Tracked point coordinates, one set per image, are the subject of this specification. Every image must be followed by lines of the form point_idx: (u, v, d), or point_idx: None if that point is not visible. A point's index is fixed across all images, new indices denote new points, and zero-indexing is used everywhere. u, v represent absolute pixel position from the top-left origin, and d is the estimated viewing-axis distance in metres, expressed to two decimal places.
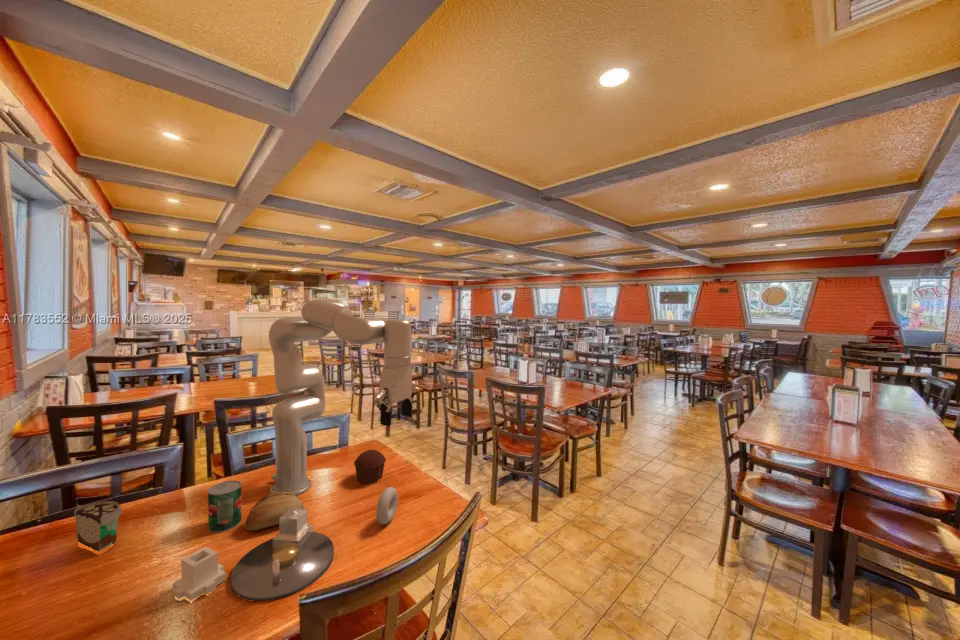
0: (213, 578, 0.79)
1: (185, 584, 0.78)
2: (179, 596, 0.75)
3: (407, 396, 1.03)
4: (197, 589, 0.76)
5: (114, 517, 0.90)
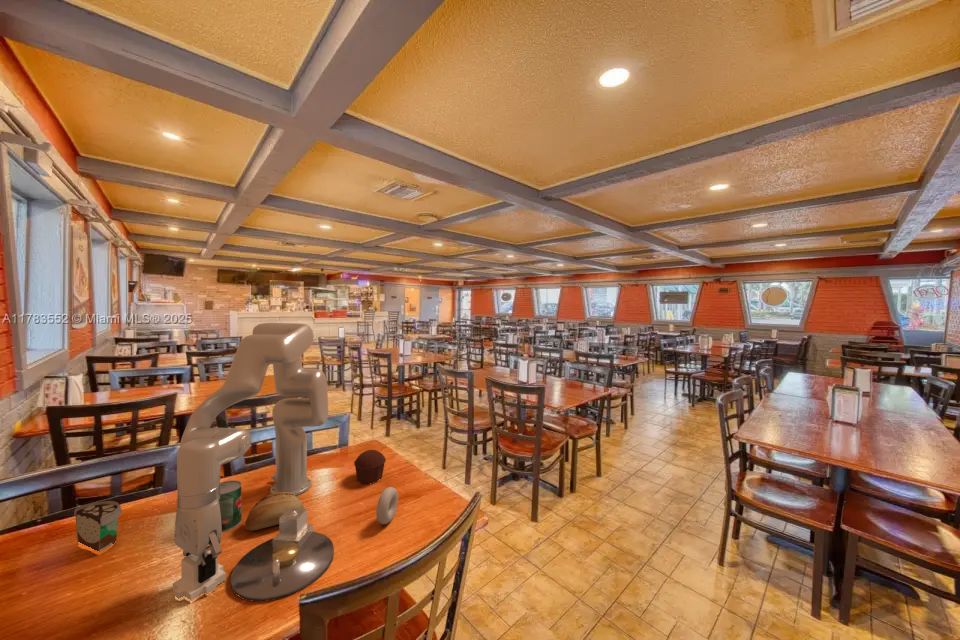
0: (213, 578, 0.79)
1: (185, 584, 0.78)
2: (179, 596, 0.75)
3: None
4: (197, 589, 0.76)
5: (114, 517, 0.90)
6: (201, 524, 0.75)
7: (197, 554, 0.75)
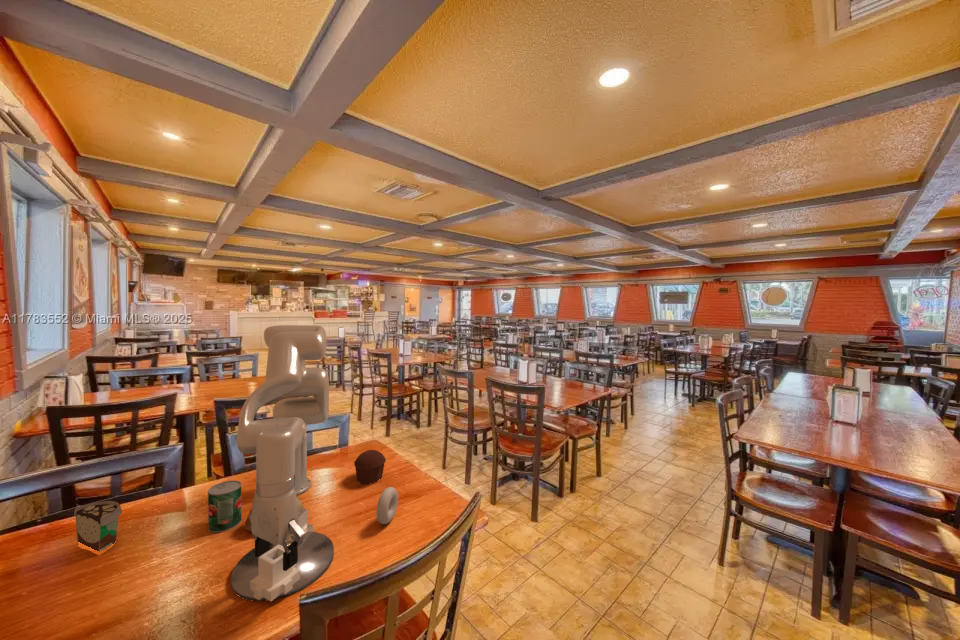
0: (289, 576, 0.79)
1: (263, 582, 0.77)
2: (259, 594, 0.75)
3: None
4: (276, 587, 0.76)
5: (114, 517, 0.90)
6: (281, 512, 0.75)
7: (278, 543, 0.74)
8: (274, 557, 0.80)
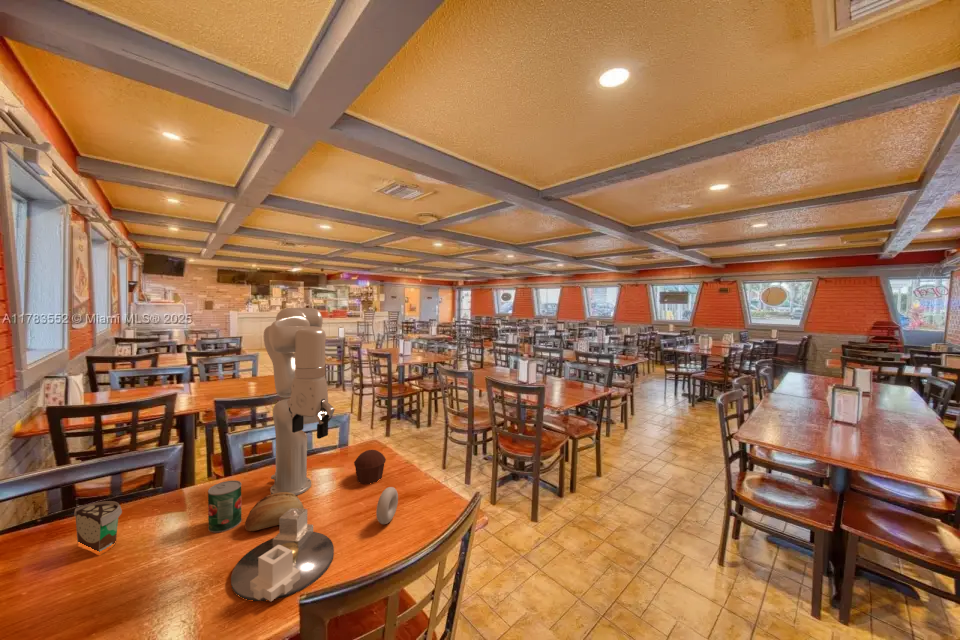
0: (289, 576, 0.79)
1: (263, 582, 0.77)
2: (259, 594, 0.75)
3: None
4: (276, 587, 0.76)
5: (114, 517, 0.90)
6: (316, 391, 0.94)
7: (313, 415, 0.93)
8: (274, 557, 0.80)
